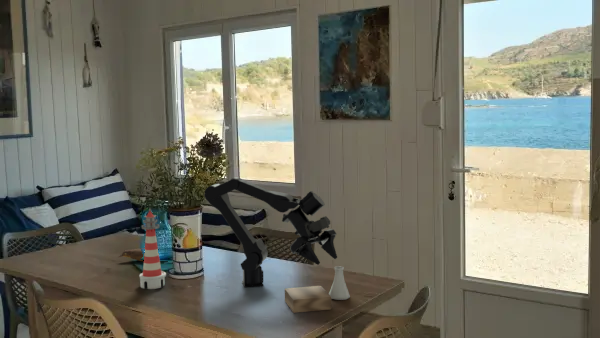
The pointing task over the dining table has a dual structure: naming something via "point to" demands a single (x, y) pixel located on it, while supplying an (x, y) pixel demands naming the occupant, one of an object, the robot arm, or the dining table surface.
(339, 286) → the flask
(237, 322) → the dining table surface
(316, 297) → the light brown square board
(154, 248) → the miniature lighthouse
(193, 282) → the dining table surface
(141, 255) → the bird sculpture
